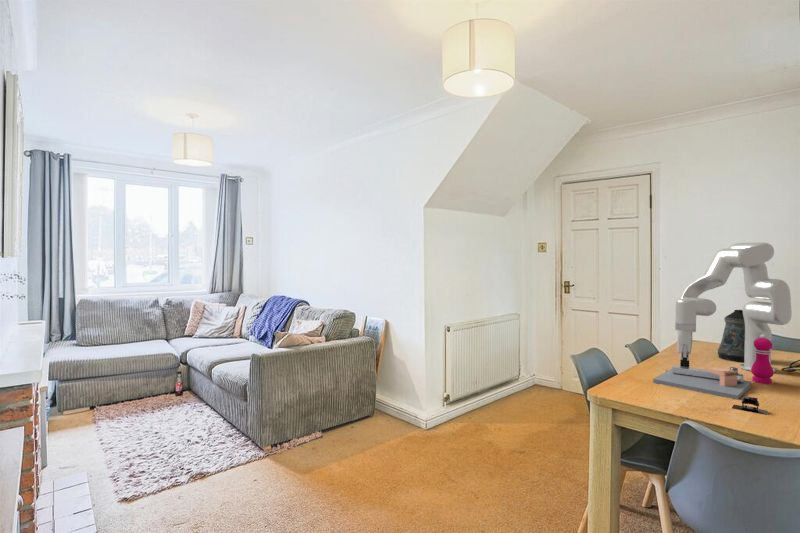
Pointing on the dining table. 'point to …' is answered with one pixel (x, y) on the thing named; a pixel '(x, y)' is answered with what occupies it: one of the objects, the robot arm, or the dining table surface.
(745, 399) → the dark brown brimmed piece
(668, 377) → the slate board
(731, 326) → the beer stein
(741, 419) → the dining table surface
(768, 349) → the pepper mill
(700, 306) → the robot arm
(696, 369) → the steel link
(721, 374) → the block
